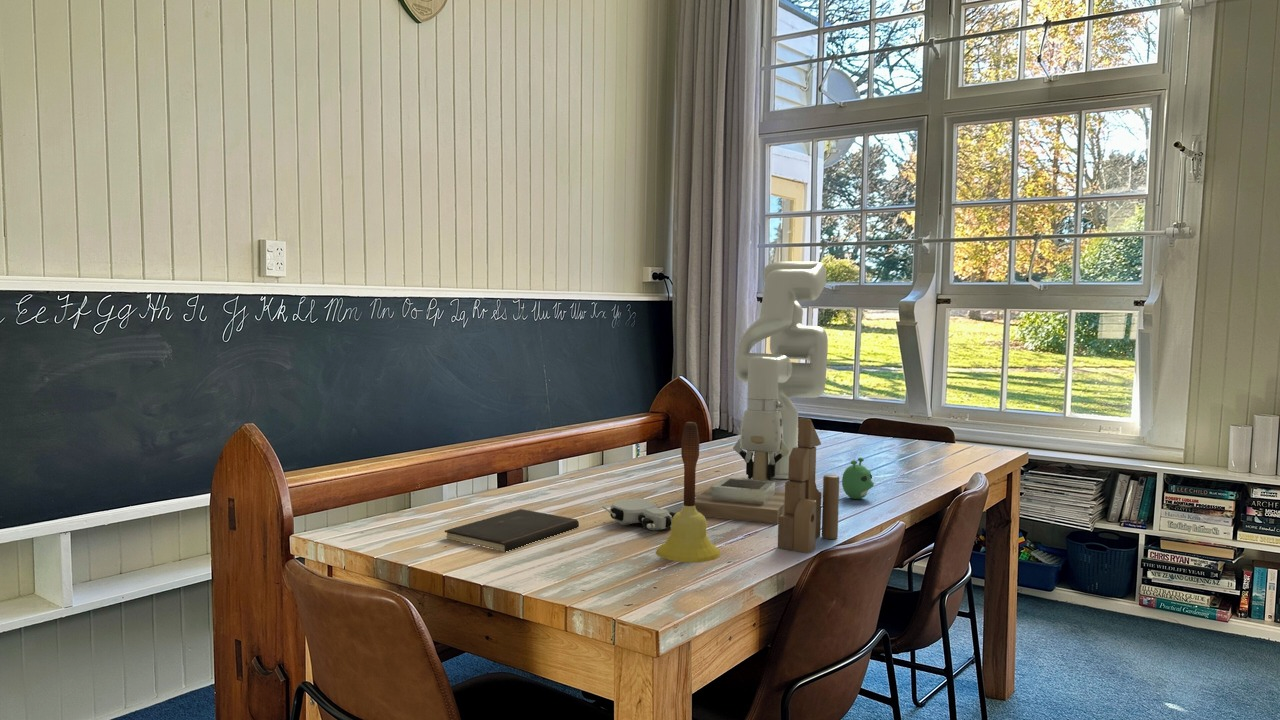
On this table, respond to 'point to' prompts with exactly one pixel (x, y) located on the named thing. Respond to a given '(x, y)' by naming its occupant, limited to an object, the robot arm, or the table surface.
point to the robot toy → (641, 514)
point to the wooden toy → (807, 497)
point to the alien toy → (857, 480)
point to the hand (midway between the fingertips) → (760, 478)
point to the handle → (760, 461)
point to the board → (741, 508)
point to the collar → (743, 490)
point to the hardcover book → (512, 529)
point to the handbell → (689, 512)
